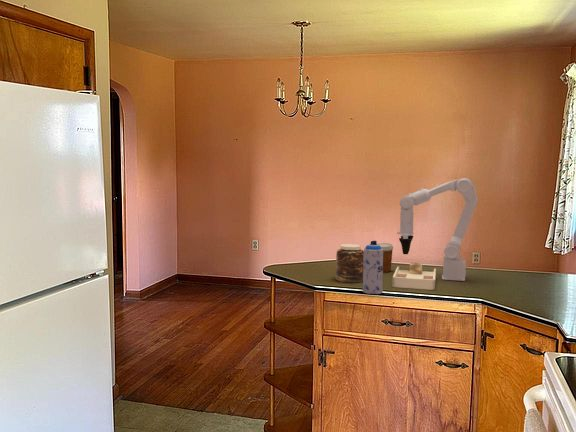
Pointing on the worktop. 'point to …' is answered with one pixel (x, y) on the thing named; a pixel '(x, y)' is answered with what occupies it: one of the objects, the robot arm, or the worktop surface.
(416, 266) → the maple block
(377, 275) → the aerosol can
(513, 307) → the worktop surface
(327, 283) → the worktop surface
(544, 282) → the worktop surface
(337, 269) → the jar
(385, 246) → the disposable coffee cup
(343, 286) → the worktop surface
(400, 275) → the trap box
